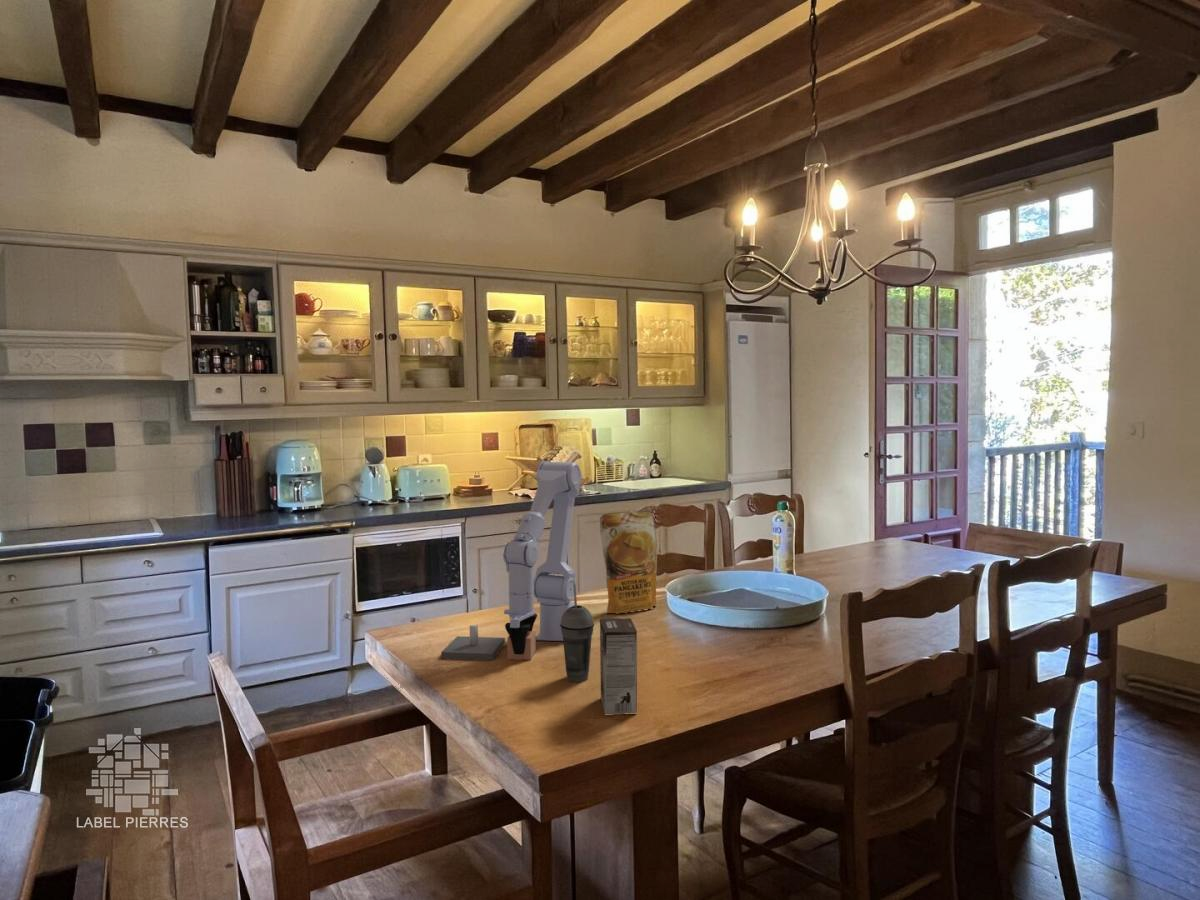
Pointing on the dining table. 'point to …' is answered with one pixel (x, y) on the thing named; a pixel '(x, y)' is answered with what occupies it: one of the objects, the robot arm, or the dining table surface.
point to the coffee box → (618, 665)
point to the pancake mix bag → (629, 560)
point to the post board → (473, 646)
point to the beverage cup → (577, 640)
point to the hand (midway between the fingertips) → (521, 649)
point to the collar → (529, 647)
